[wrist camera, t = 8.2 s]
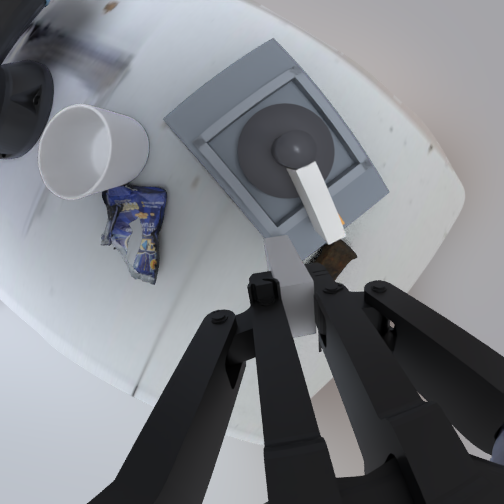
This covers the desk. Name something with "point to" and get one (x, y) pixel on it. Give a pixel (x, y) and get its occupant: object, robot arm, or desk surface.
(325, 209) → the dial
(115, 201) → the snack package
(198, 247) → the desk surface
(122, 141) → the mug
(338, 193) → the panel
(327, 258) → the dark brown lumpy bar
